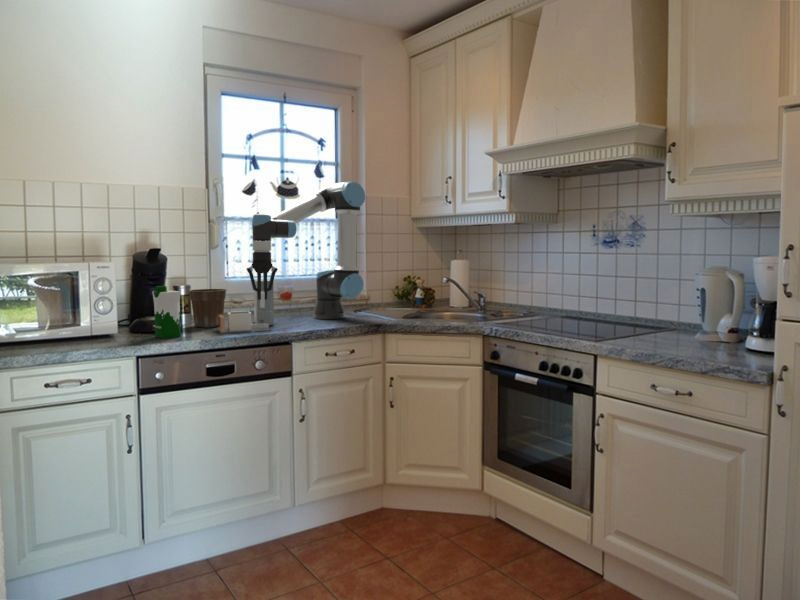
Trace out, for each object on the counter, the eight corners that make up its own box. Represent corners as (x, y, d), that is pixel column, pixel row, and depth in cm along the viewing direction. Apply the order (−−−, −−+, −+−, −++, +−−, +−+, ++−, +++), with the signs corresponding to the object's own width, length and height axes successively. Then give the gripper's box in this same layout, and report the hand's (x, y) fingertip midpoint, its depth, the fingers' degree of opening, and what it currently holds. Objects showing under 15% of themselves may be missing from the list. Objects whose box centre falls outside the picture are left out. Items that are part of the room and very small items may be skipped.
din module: (249, 327, 260) (249, 310, 259) (251, 329, 255) (251, 311, 254) (228, 329, 257) (227, 311, 256) (229, 331, 251) (228, 312, 251)
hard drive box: (274, 325, 272) (273, 280, 270) (256, 326, 270) (255, 281, 268) (270, 321, 287) (269, 278, 285) (254, 321, 284) (253, 279, 282)
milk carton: (151, 337, 239) (149, 286, 237) (173, 334, 246) (171, 284, 244) (162, 339, 233) (160, 287, 231) (184, 336, 240) (182, 285, 238)
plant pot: (188, 324, 275) (187, 288, 274) (226, 322, 281) (224, 287, 279) (190, 329, 260) (189, 291, 258) (229, 327, 266) (228, 290, 264)
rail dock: (266, 327, 266) (266, 312, 265) (270, 331, 255) (270, 315, 254) (218, 329, 259) (218, 314, 258) (221, 333, 247) (220, 317, 247)
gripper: (276, 251, 262) (276, 306, 264) (244, 251, 257) (245, 306, 259) (279, 251, 255) (279, 307, 257) (247, 251, 250) (247, 308, 252)
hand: (262, 307), depth 258 cm, fingers closed
